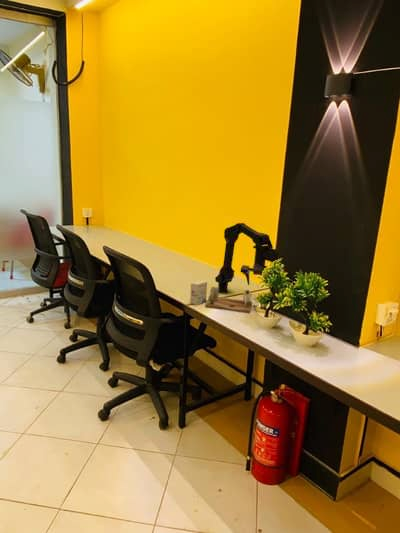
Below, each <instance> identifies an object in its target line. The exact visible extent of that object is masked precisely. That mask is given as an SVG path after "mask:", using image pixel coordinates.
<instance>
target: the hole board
mask: <svg viewBox="0 0 400 533" xmlns="http://www.w3.org/2000/svg"><path fill="white" fill-rule="evenodd" d="M204 304H205V305H204V308H208V309H217V310H222V311H223V310H224V311H228V312H236V313H245V314H250V313H251V310H252V306H253V301H251V300H250V302H246V307H244V306H245V302H243V299H237V298H229V297H223V296H221V297H220V296H218V298H213V303H211V298H210V295H208V299H207V300H206V302H205V303H204Z"/></svg>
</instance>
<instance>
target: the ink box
mask: <svg viewBox="0 0 400 533" xmlns="http://www.w3.org/2000/svg"><path fill="white" fill-rule="evenodd" d="M207 291H208V281H205V280H203V279H201V280H197V281H194V282H193V281H192V282H191V283H190V296H189V297H190V298H189V304H192V305H194V306H199V305H201V304H205V303H207V293H208V292H207Z"/></svg>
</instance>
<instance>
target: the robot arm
mask: <svg viewBox="0 0 400 533" xmlns="http://www.w3.org/2000/svg"><path fill="white" fill-rule="evenodd" d="M223 233H224V234H223V238H224V241H225V246H224V247H225V248H224V256H223V265H222V266H221V268H220V269H219V271H218V272H219V273H218V275H217V276H215V277H214V279H215V282H216V283H217V286H218V287H217V288H219V293H220V294H228V293H229V283H232V280H233V279H234V277H235V270H234V269H233V267H232V265H233V258H234V253H235V252H234V251H235V246H236V244H235V243H236V242H237V241H238V240H239V236H240V235H241V234H244V235H245V236H247V237H248V238H250V239H251V240H252V242H253V243H254V244H255V245H253V247H252V248H253V249H255V251H254V252H255V254H254V260H253V261H254V262H253V266H252V267H250V265H246V264H243V265H241V268H240V273H242V274H243V275H244V276H245V278H246V281H247V282H246V283H247V286H249V285H250V273H251V272H252V274H253V275H254V276H256V275H259V276H263V274H262V271H263V270H264V268H266V267H267V268H268V266H267V265H266V261H267V262H270V263H273V261H275V260H277V261H278V259H279V257H280V256H279V252H277V248H274V247H273V244H272V241H271V238H270V235H269V234H267V233H263V232H259V231H257V230H255V229H253V228H252V227H250V226H249V225H246V223H244V222H237V223H235V224H234V225H231V226H229V227H226V228H225V229H224V231H223ZM265 288H267V287H265Z"/></svg>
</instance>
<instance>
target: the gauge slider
mask: <svg viewBox="0 0 400 533" xmlns="http://www.w3.org/2000/svg"><path fill="white" fill-rule="evenodd" d="M251 297H252V291H250V290H249V289H248V290H244V291H243V294H242V300H243V302H245V306H244V307H246V302H250V301H251Z"/></svg>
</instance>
